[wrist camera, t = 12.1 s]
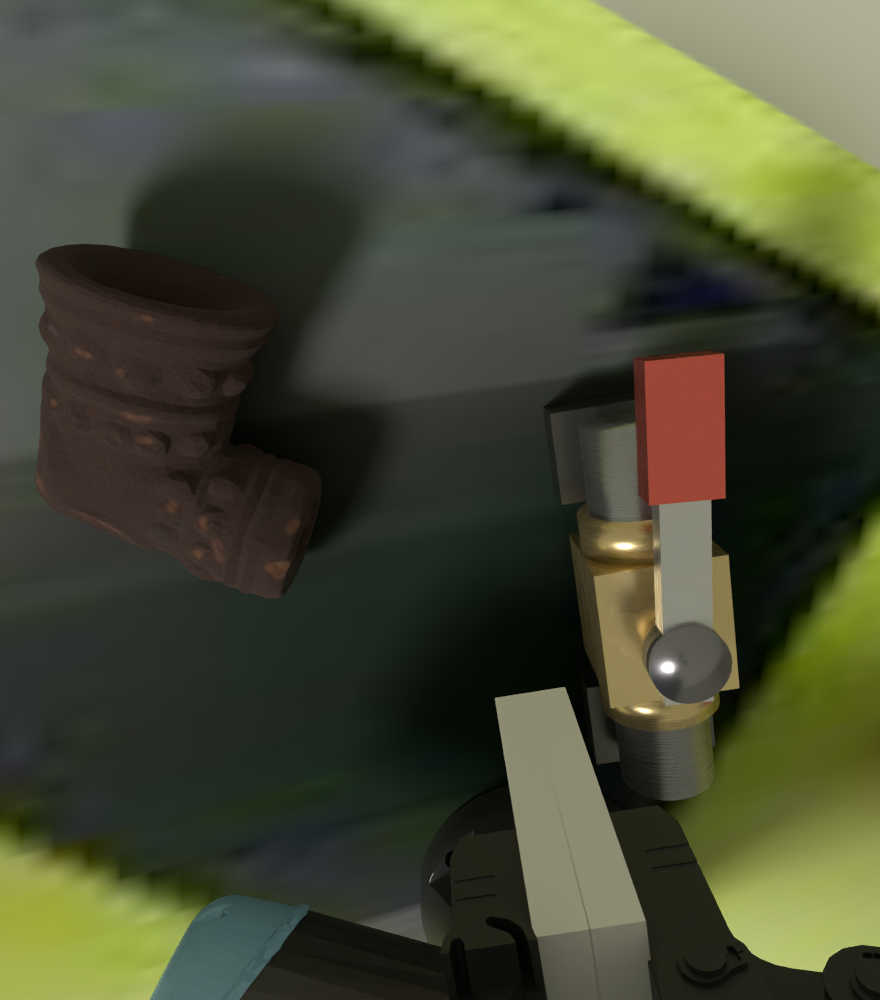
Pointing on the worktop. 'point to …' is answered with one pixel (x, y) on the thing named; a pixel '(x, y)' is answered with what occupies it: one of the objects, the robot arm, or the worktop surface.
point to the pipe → (165, 416)
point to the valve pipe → (628, 605)
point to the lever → (682, 517)
